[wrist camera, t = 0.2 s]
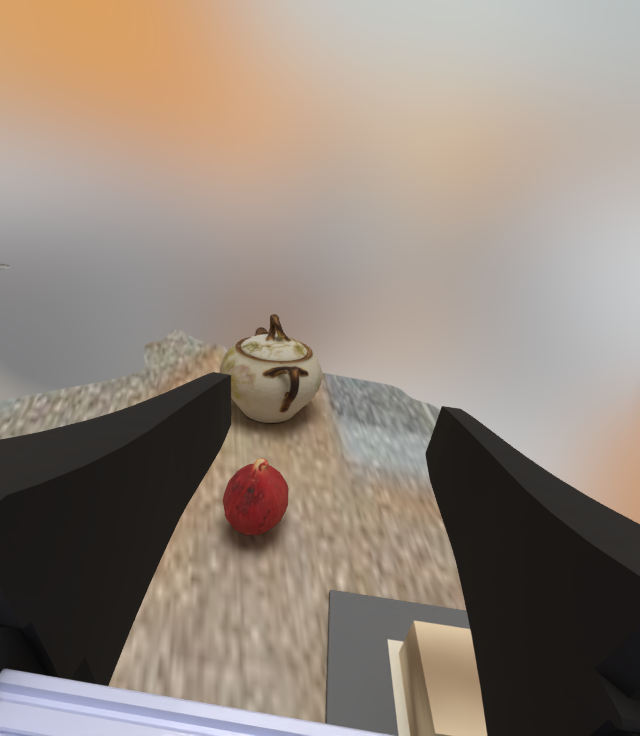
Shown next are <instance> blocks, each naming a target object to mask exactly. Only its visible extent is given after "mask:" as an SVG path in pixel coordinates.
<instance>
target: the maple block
mask: <svg viewBox="0 0 640 736" xmlns="http://www.w3.org/2000/svg"><path fill="white" fill-rule="evenodd" d="M399 659H400V666H401V673H402V680H403V688H404V695H405V702H406V709H407V716H408V723H409V731H410V736H487V730H486V723H485V716H484V709H483V702H482V695H481V688H480V682H479V676H478V671H477V665H476V659H475V653H474V647H473V641H472V636H471V631H470V629H466V628H459V627H453V626H446V625H440V624H434V623H427V622H421V621H413V623H412V625H411V628H410V630H409V632H408V634H407V636H406V638H405V640H404V642H403V644H402V647H401V649H400V651H399Z"/></svg>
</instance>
